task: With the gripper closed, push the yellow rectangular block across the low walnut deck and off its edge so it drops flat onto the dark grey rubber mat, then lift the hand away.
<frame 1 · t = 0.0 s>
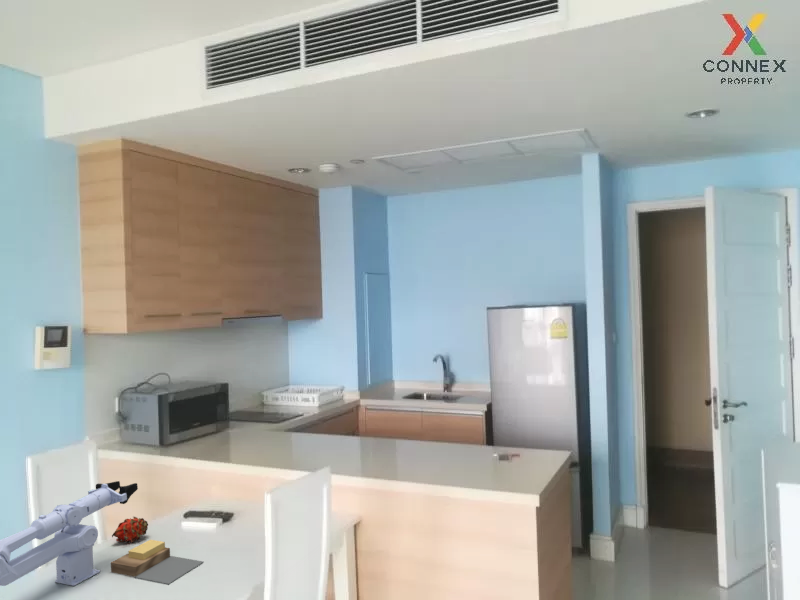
hand: (127, 485, 198), 22 cm above the table, tool horizontal, fingers open, 7 cm apart
mat: (170, 570, 183), on the table
dragon fruit: (130, 541, 206), on the table
yellow rectangular block: (147, 552, 189), point 3 cm above the table, touching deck
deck: (141, 564, 187), on the table
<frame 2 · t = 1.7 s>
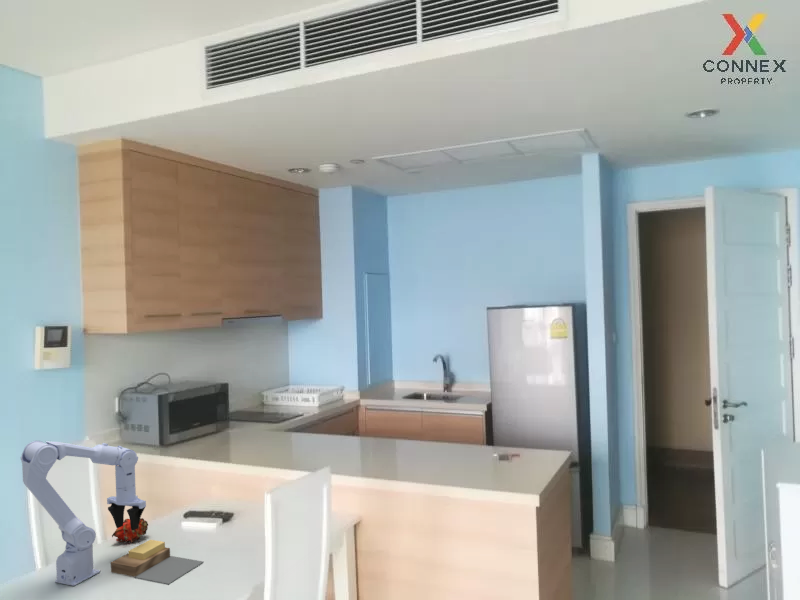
hand: (127, 527, 192), 10 cm above the table, tool pointing down, fingers open, 6 cm apart
nothing on the table moved.
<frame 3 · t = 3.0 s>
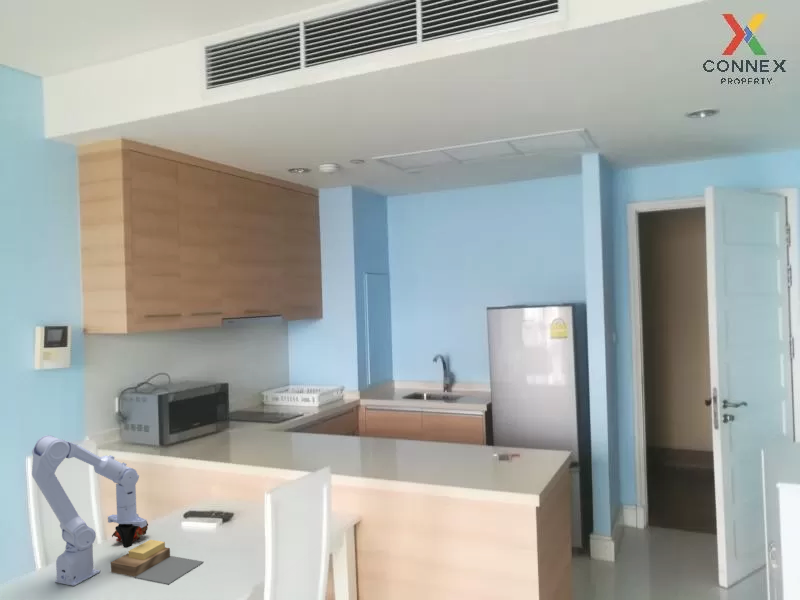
hand: (128, 546, 192), 4 cm above the table, tool pointing down, fingers closed
nothing on the table moved.
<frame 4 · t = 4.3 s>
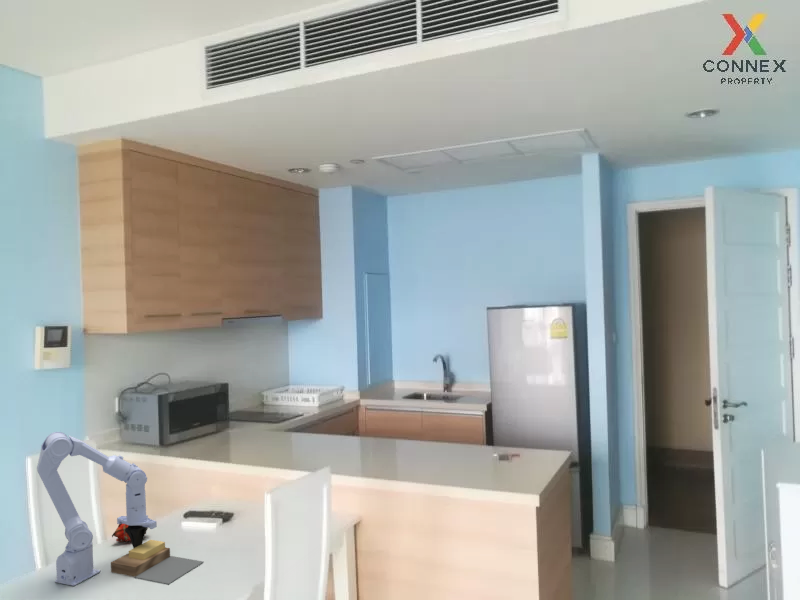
hand: (137, 548, 191), 4 cm above the table, tool pointing down, fingers closed
yellow rectangular block: (147, 552, 189), point 3 cm above the table, touching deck, gripper
everything else where it was.
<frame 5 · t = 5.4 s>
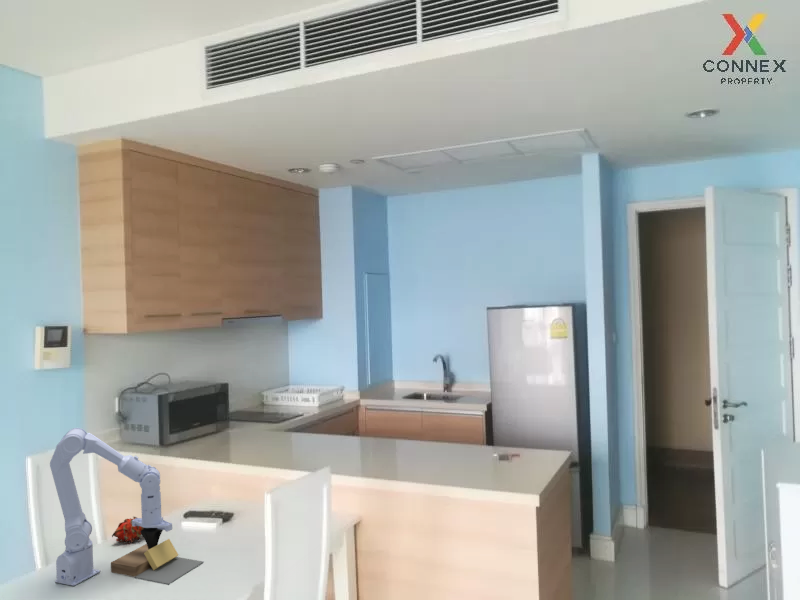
hand: (152, 550, 188), 4 cm above the table, tool pointing down, fingers closed
yellow rectangular block: (159, 555, 187), point 3 cm above the table, tilted 53°, touching gripper, mat
everything else where it was.
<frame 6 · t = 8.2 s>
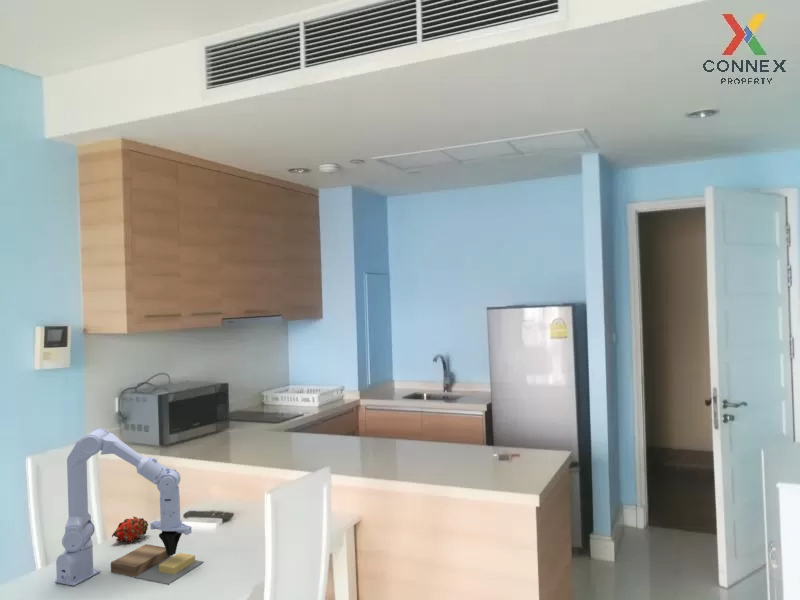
hand: (171, 554, 185), 4 cm above the table, tool pointing down, fingers closed
yellow rectangular block: (176, 560, 185), point 2 cm above the table, tilted 180°, touching mat
everything else where it was.
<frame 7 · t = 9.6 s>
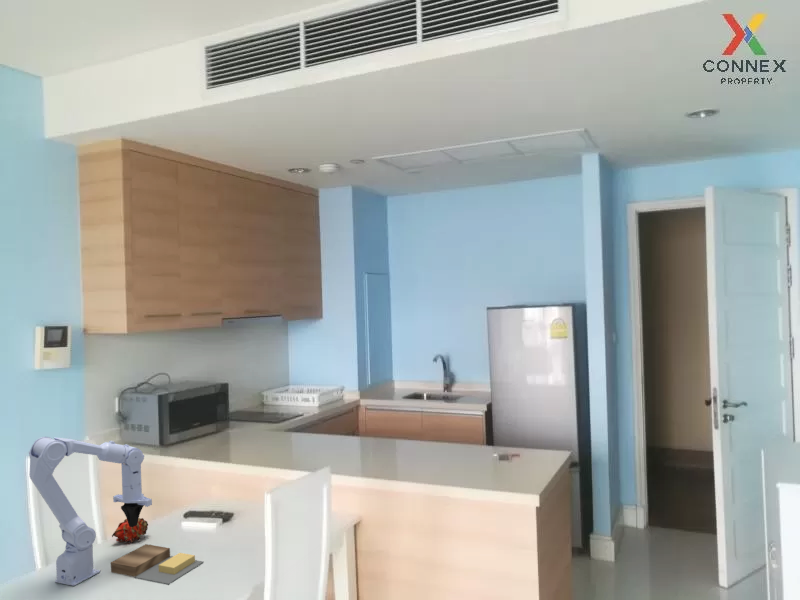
hand: (133, 525, 194), 10 cm above the table, tool pointing down, fingers closed
nothing on the table moved.
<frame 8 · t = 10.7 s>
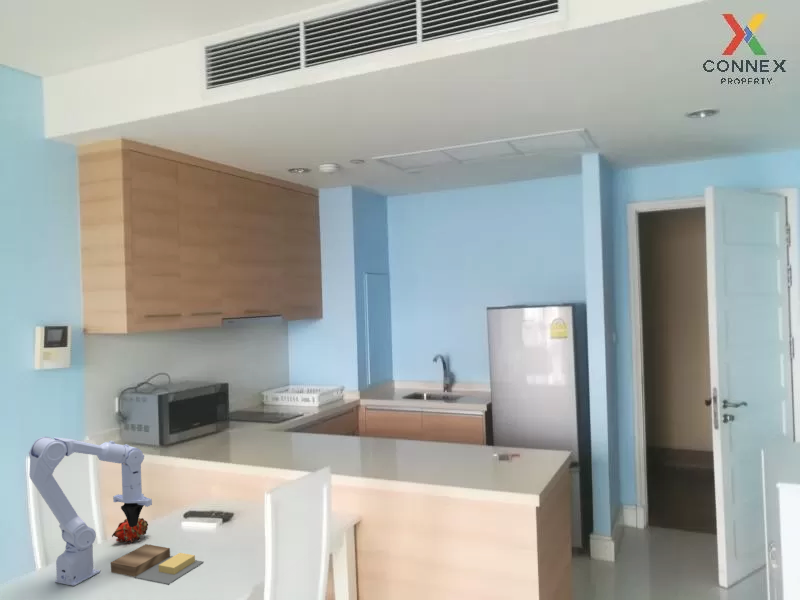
hand: (133, 525, 194), 10 cm above the table, tool pointing down, fingers closed
nothing on the table moved.
at the end: yellow rectangular block inside the target area on the mat (2.3 cm from its centre), point 2.3 cm above the mat's base; yellow rectangular block touching mat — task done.
